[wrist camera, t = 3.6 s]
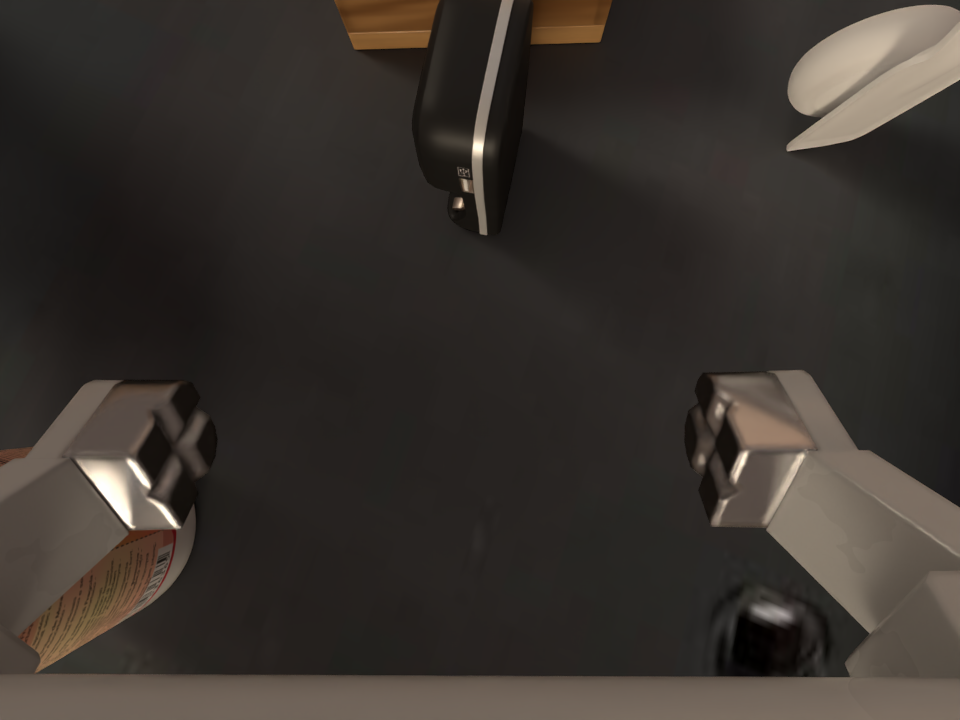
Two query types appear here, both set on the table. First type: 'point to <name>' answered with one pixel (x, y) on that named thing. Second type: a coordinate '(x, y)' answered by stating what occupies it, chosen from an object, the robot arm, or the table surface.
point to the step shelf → (411, 9)
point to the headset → (874, 72)
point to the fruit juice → (109, 586)
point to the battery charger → (473, 105)
